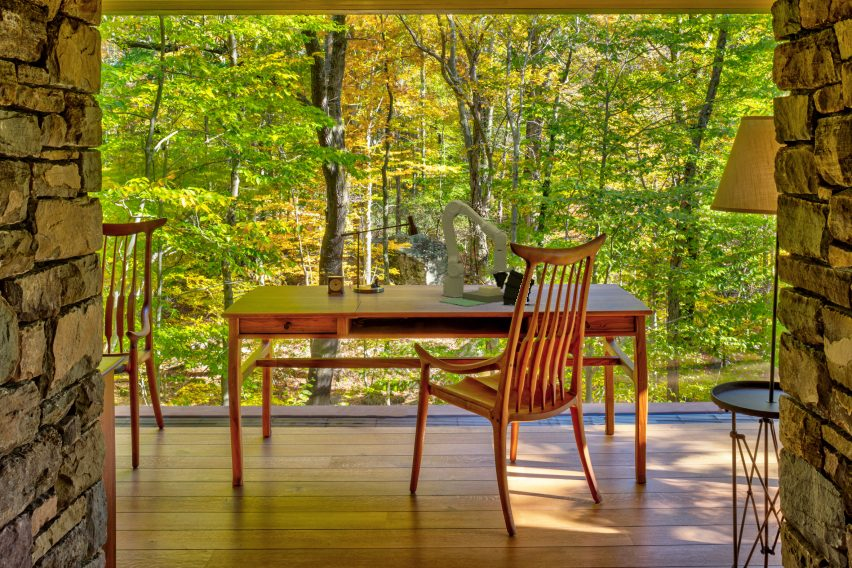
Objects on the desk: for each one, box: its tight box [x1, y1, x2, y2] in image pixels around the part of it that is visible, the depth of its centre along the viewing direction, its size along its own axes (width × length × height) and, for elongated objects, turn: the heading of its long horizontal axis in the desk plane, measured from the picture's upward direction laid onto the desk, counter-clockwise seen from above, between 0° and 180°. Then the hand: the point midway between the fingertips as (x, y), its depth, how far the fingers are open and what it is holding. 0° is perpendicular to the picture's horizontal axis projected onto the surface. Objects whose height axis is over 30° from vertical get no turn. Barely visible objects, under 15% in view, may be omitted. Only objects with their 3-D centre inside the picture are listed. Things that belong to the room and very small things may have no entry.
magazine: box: [502, 268, 536, 306], centre depth 338 cm, size 4×13×15 cm, turn 84°
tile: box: [477, 285, 502, 294], centre depth 353 cm, size 8×6×2 cm
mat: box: [439, 297, 488, 308], centre depth 344 cm, size 18×12×1 cm, turn 40°
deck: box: [462, 290, 504, 304], centre depth 352 cm, size 16×14×3 cm
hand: (500, 289), depth 358 cm, fingers closed
